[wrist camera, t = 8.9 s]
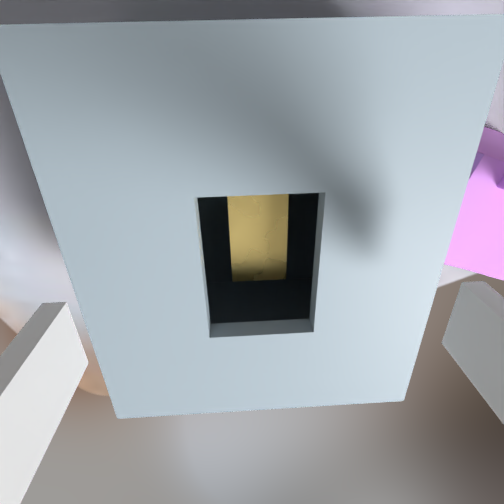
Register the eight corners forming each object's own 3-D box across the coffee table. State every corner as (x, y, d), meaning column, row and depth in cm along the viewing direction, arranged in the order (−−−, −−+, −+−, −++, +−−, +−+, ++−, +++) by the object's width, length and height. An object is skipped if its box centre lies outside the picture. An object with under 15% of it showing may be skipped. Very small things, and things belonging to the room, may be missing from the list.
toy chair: (358, 216, 27) (482, 362, 14) (415, 101, 23) (667, 147, 10) (447, 242, 28) (635, 393, 15) (514, 137, 24) (848, 220, 11)
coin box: (112, 46, 20) (-17, 24, 10) (373, 40, 21) (517, 13, 10) (159, 291, 29) (117, 418, 18) (342, 282, 30) (403, 400, 19)
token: (228, 157, 23) (227, 195, 16) (271, 155, 23) (288, 193, 16) (232, 223, 26) (232, 281, 19) (271, 221, 26) (286, 279, 19)
